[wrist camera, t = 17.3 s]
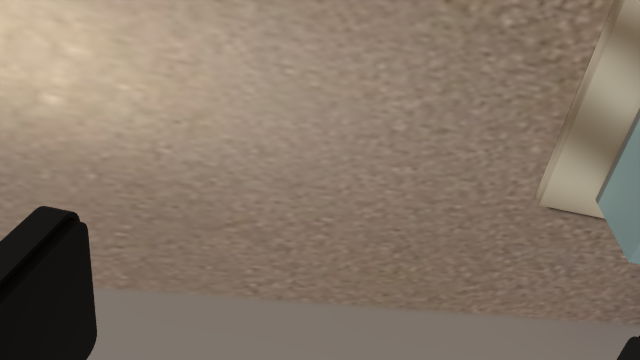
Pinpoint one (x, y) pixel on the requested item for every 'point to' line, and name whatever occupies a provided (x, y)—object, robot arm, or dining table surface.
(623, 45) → the birch board
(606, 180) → the sanding block
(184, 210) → the dining table surface
